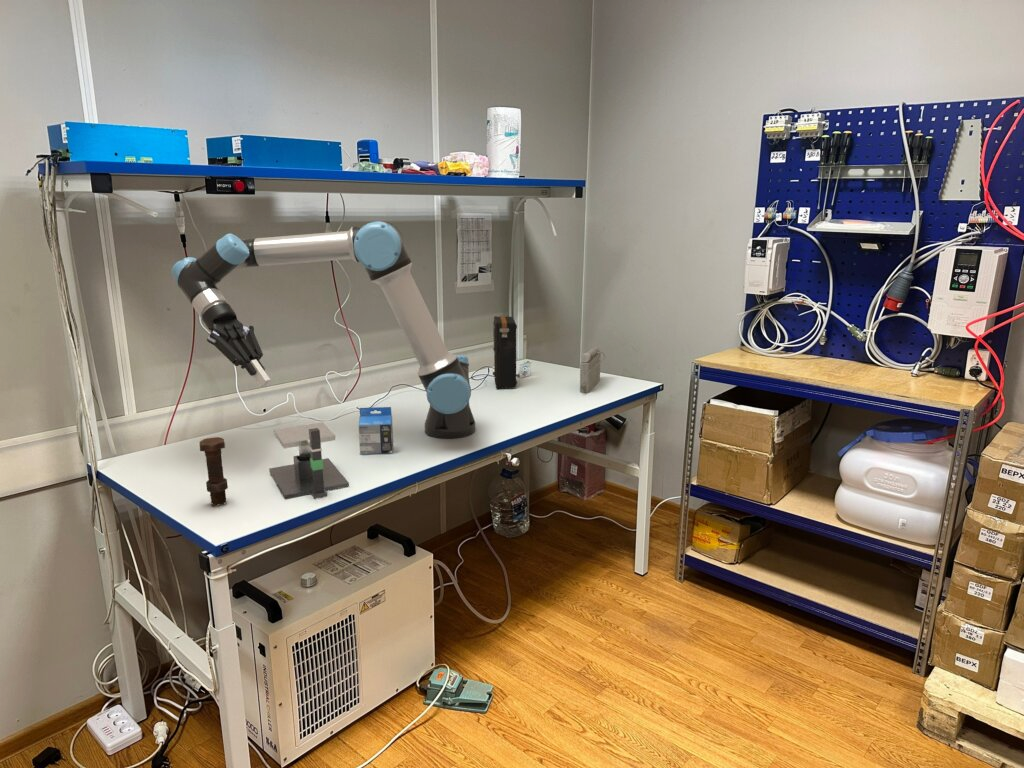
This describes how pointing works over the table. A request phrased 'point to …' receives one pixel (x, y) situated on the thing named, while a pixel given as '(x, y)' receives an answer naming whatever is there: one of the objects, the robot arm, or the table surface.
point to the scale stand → (308, 473)
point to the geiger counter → (590, 369)
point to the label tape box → (375, 430)
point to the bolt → (215, 469)
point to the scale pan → (302, 437)
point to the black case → (504, 352)
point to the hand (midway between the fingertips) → (265, 383)
